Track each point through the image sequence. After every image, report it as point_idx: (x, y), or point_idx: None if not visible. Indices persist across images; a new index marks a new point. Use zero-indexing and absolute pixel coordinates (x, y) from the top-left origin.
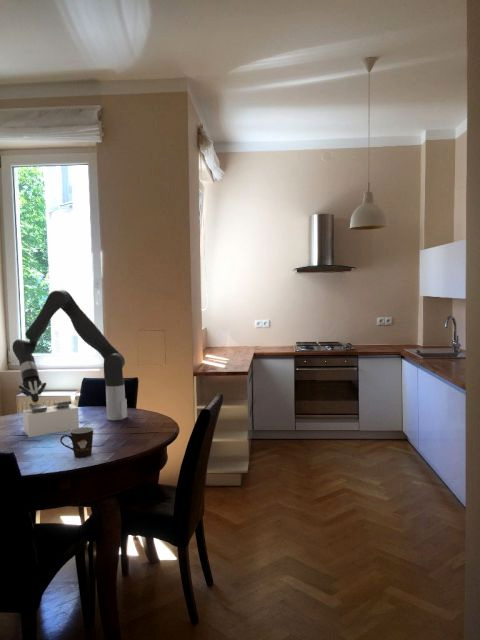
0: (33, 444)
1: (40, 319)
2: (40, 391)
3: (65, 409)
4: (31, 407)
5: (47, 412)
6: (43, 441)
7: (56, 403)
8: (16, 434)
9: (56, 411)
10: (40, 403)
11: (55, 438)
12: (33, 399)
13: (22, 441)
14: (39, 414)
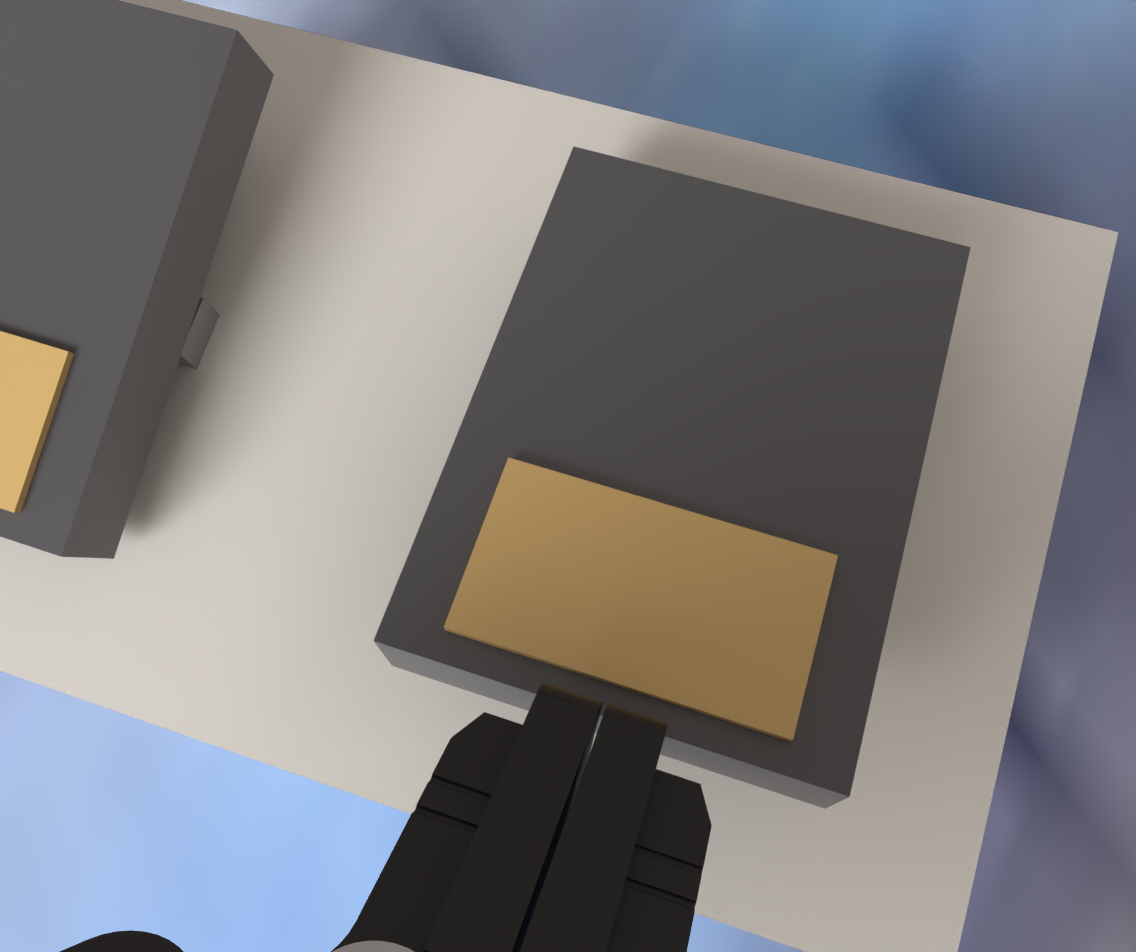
0: (1070, 11)
1: None
2: (136, 947)
3: (197, 18)
4: (928, 433)
5: (627, 112)
6: (897, 28)
7: (183, 218)
8: (1016, 819)
9: (414, 68)
10: (541, 520)
11: (700, 22)
12: (672, 795)
13: (1125, 290)
14: (820, 174)
